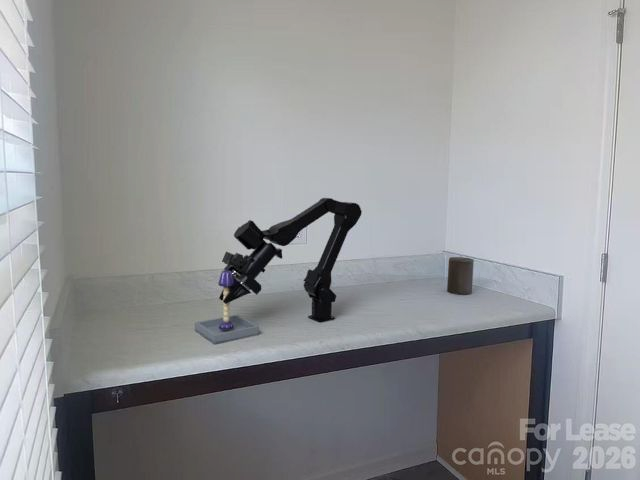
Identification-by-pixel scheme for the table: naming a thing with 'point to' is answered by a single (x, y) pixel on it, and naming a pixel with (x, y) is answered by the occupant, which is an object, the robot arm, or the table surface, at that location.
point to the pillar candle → (460, 275)
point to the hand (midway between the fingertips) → (222, 301)
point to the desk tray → (217, 335)
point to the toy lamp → (226, 282)
